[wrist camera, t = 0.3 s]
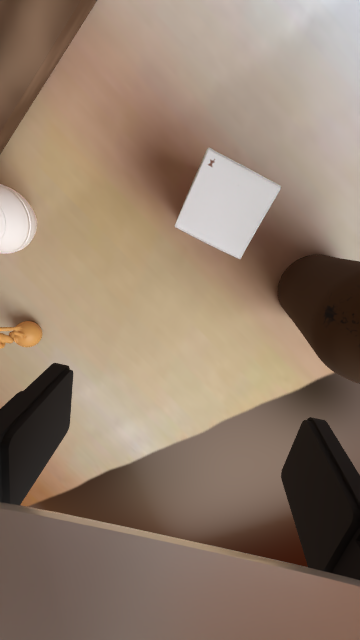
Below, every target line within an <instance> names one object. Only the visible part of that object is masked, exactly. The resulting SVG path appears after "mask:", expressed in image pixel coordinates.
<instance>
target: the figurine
mask: <svg viewBox="0 0 360 640" xmlns="http://www.w3.org/2000/svg"><path fill="white" fill-rule="evenodd" d="M11 330H13V331H12V332H10V333H9V336H8V335H5V334H3V333H0V348H3V347H4V346H5V343H12V342H13V341H14V342H16V343H17V344H18V345H20V346H23V347H32V346H34V345H36V344H37V343H38V342H39V341H40V340H41V338H42V330H41V328H40V326H39V325H37V324H36V323H34V322H31V321H25V322H21V323H19V324H18V325H17V326H16V327H0V331H11Z"/></svg>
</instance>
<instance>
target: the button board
mask: <svg viewBox="0 0 360 640" xmlns="http://www.w3.org/2000/svg"><path fill="white" fill-rule="evenodd" d="M96 1H97V0H0V153H1V152H2V150H3V149H4V147H5V146H6V144H7V142H8V141H9V139H10V138H11V136H12V134H13V133H14V131H15V130H16V128H17V127H18V125H19V123H20V122H21V120H22V119H23V117H24V115H25V114H26V112H27V111H28V109H29V107H30V106H31V104H32V103H33V101H34V100H35V98H36V96H37V95H38V93H39V92H40V90H41V88H42V87H43V85H44V84H45V82H46V81H47V79H48V77H49V76H50V74H51V73H52V71H53V69H54V68H55V66H56V65H57V63H58V61H59V60H60V58H61V57H62V55H63V54H64V52H65V50H66V49H67V47H68V46H69V44H70V42H71V41H72V39H73V38H74V36H75V35H76V33H77V31H78V30H79V28H80V27H81V25H82V23H83V22H84V20H85V19H86V17H87V15H88V14H89V12H90V11H91V9H92V8H93V6H94V4H95V3H96Z"/></svg>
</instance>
